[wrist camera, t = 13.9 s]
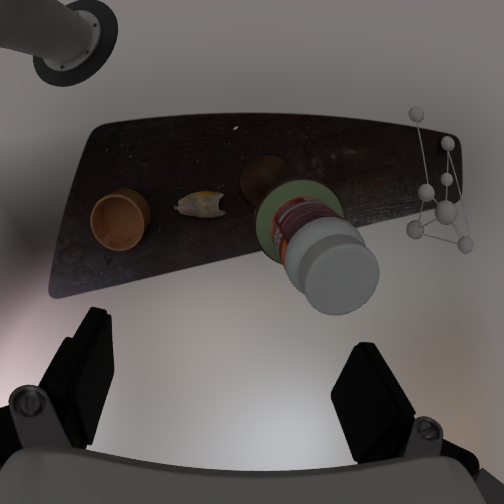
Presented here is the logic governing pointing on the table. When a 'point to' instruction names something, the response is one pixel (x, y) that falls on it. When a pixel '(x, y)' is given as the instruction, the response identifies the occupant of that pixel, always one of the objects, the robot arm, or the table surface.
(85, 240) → the table surface
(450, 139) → the molecule model
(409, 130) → the table surface
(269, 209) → the coaster
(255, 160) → the stand
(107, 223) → the bowl
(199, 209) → the cream hollow shell
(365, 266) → the pill bottle
